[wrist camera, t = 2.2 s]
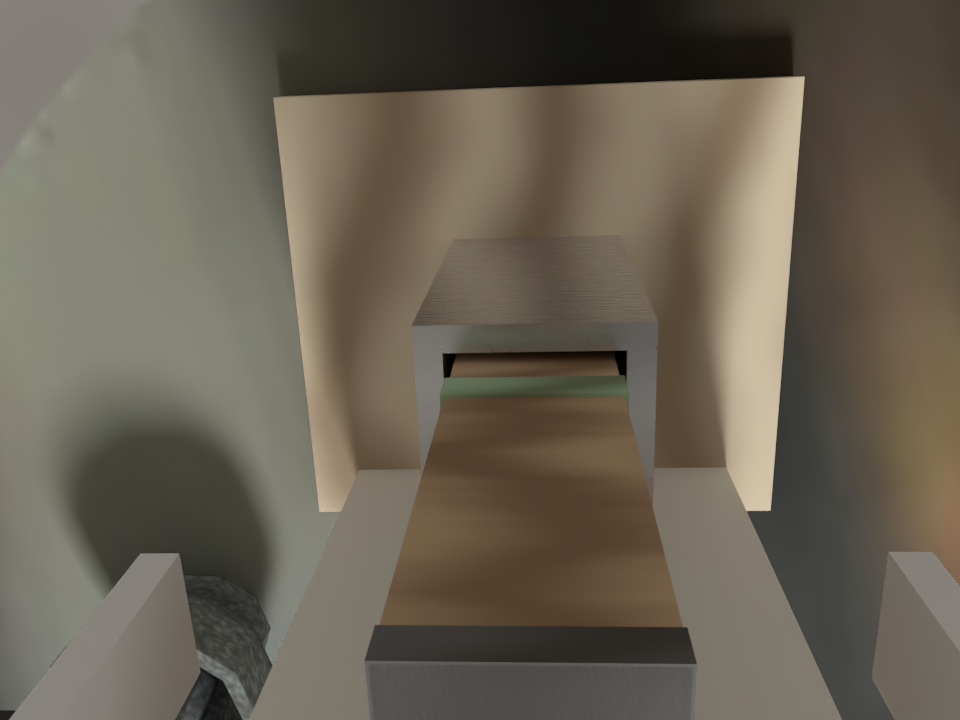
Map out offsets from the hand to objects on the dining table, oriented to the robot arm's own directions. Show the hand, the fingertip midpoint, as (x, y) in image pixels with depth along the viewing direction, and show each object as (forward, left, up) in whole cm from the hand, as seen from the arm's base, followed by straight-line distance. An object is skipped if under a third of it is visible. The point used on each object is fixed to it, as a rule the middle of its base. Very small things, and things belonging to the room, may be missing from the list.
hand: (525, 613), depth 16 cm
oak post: (0, 0, -20) cm, 20 cm away
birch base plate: (0, 0, -22) cm, 22 cm away
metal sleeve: (0, 0, -20) cm, 21 cm away
